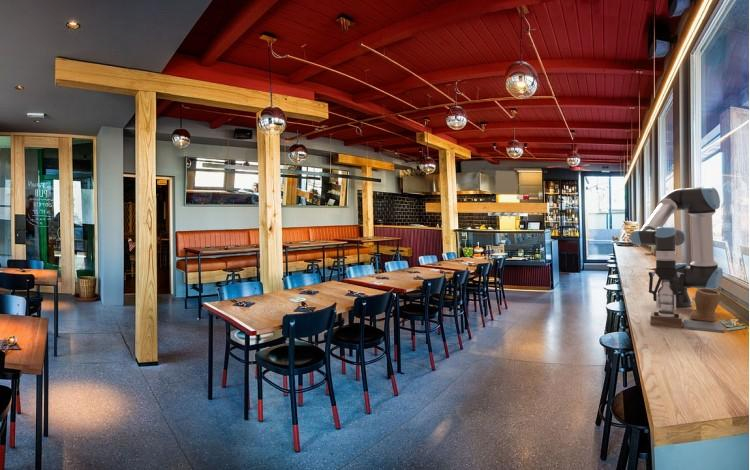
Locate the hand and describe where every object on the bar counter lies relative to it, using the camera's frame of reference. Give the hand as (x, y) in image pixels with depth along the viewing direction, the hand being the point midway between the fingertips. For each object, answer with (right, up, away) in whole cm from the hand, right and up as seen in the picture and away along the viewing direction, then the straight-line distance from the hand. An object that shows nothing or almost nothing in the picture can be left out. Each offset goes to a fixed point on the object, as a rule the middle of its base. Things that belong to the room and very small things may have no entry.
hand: (666, 308), depth 196 cm
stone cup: (+22, -6, +4) cm, 23 cm away
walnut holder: (0, -7, 0) cm, 7 cm away
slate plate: (+11, -7, -8) cm, 15 cm away
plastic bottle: (0, -7, 0) cm, 7 cm away
